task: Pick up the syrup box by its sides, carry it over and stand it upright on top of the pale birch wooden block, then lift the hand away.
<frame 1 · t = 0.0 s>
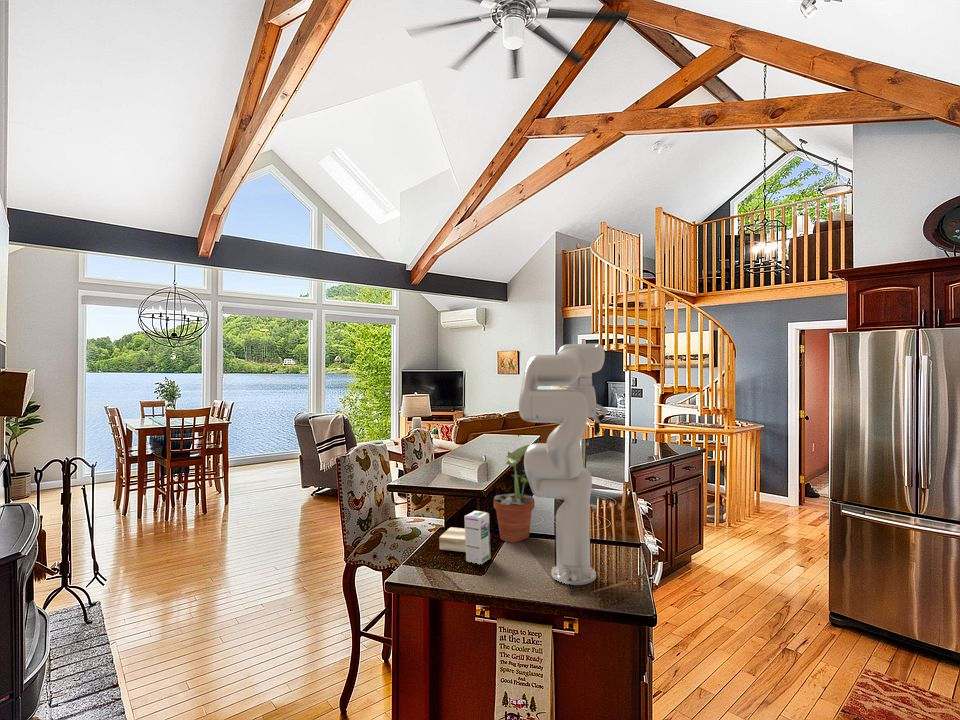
hand: (581, 434, 171), 37 cm above the table, tool pointing down, fingers open, 9 cm apart
syrup box: (478, 560, 162), on the table
potted plant: (514, 536, 182), on the table
birch block: (459, 545, 175), on the table
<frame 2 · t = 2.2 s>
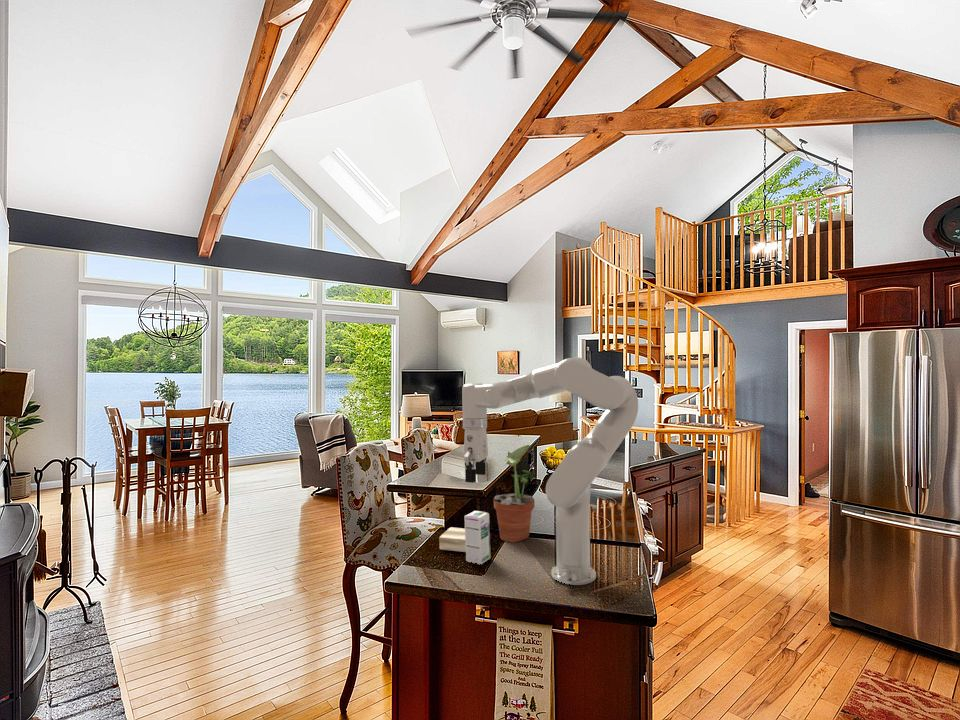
hand: (475, 478, 162), 26 cm above the table, tool pointing down, fingers open, 9 cm apart
nothing on the table moved.
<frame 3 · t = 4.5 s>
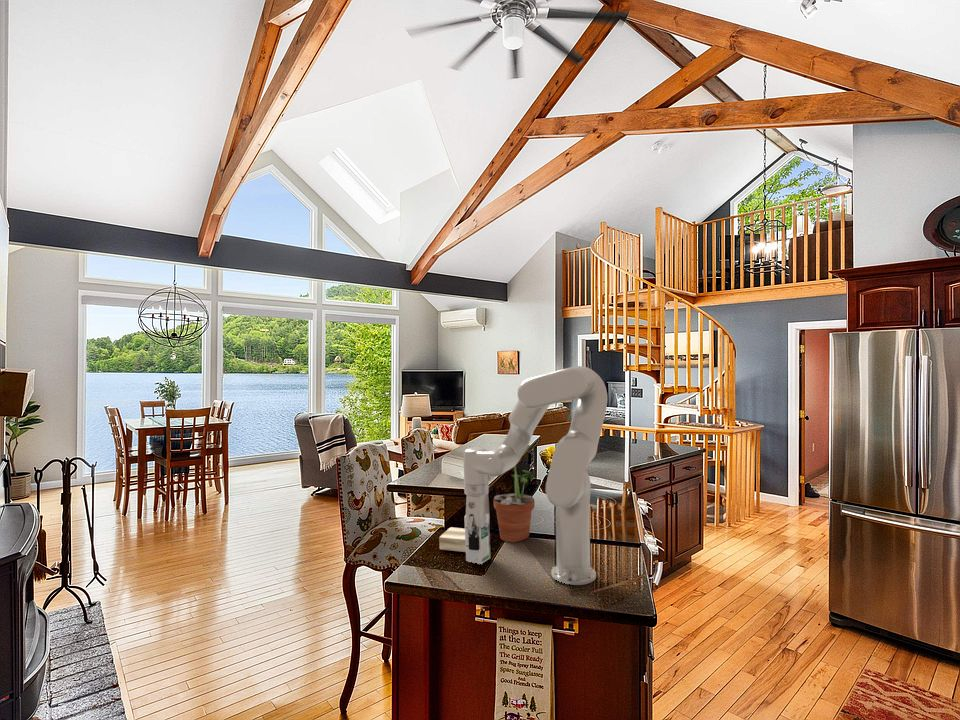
hand: (477, 544, 162), 5 cm above the table, tool pointing down, fingers closed on syrup box, 6 cm apart
syrup box: (478, 560, 162), on the table, touching gripper
everything else where it was.
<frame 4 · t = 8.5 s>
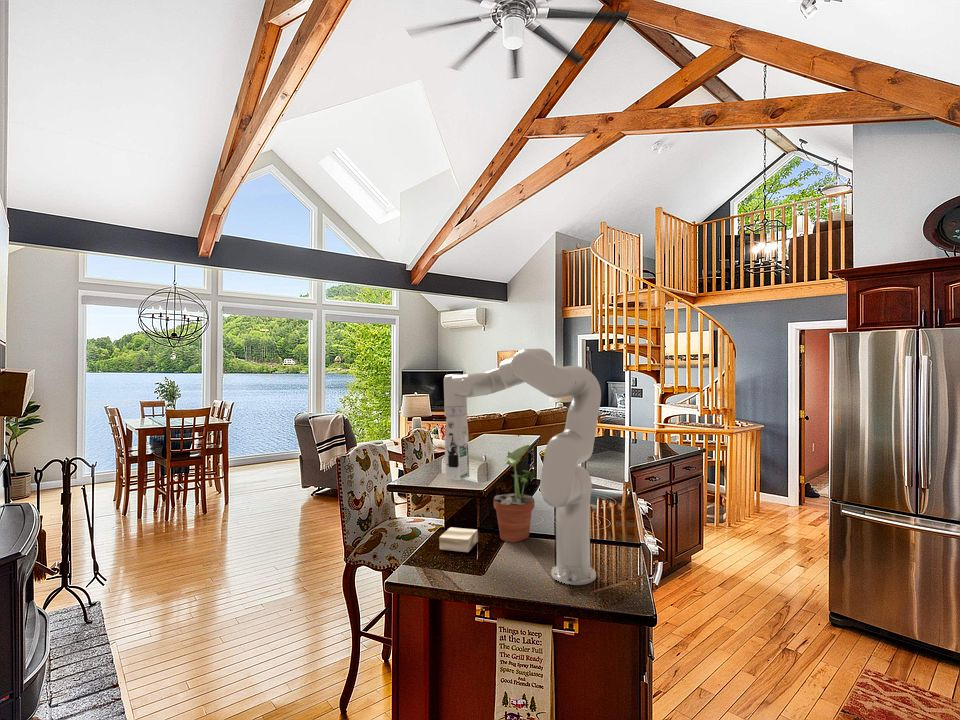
hand: (457, 464, 174), 27 cm above the table, tool pointing down, fingers closed on syrup box, 6 cm apart
syrup box: (457, 478, 174), point 22 cm above the table, touching gripper
everything else where it was.
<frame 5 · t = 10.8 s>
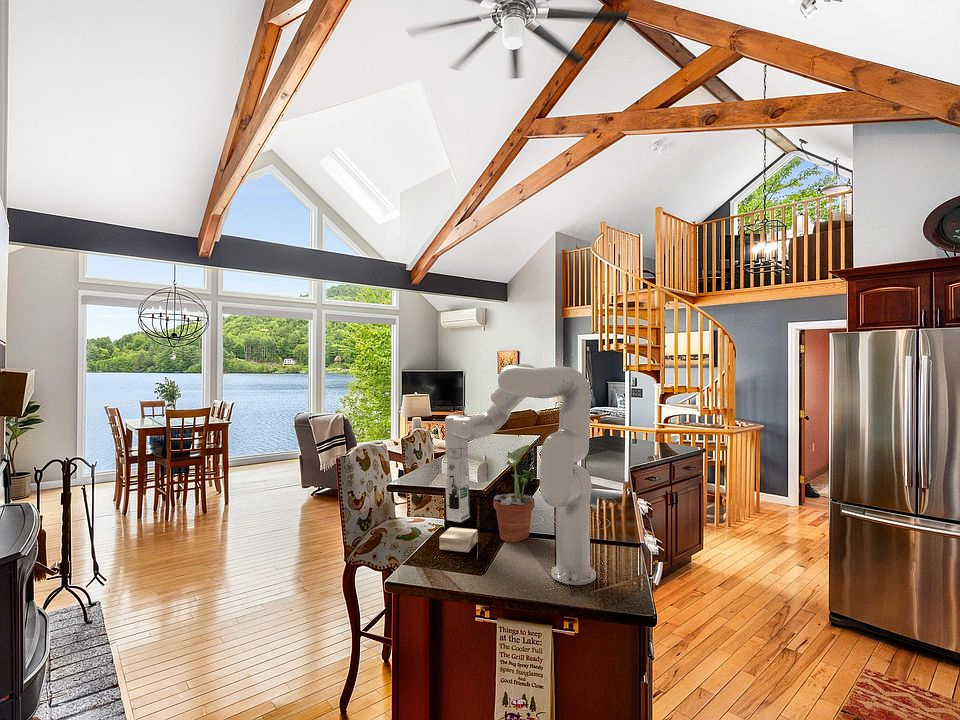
hand: (457, 505, 175), 14 cm above the table, tool pointing down, fingers closed on syrup box, 6 cm apart
syrup box: (458, 519, 175), point 9 cm above the table, touching gripper
everything else where it was.
when the fingers open (10 cm above the table, at t = 12.6 s): syrup box drops 1 cm, resting on birch block.
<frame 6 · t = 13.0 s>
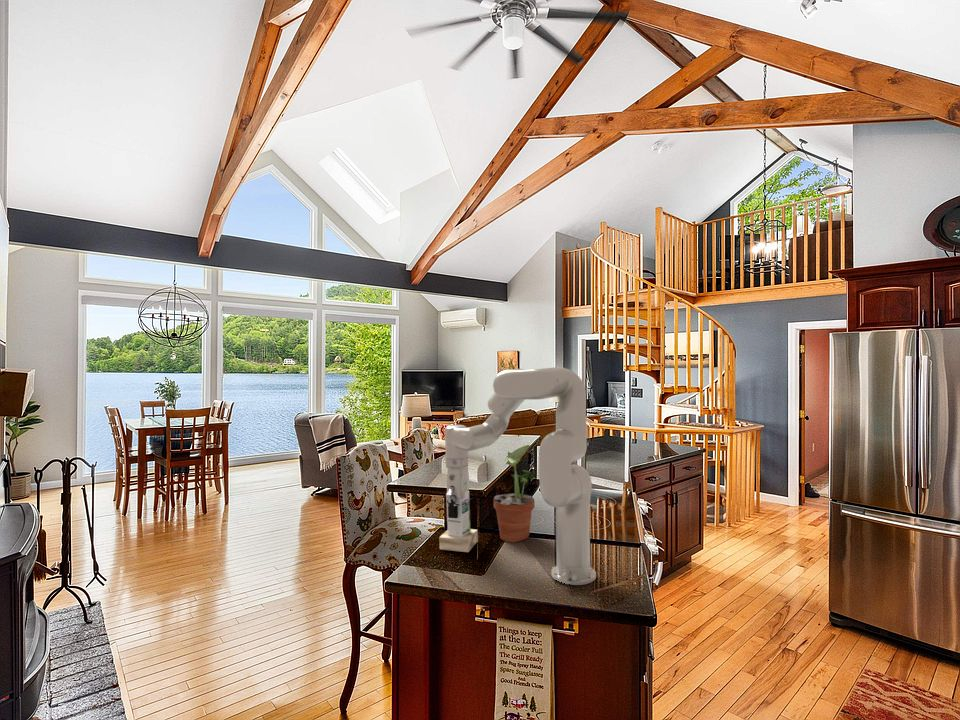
hand: (458, 513, 175), 11 cm above the table, tool pointing down, fingers open, 9 cm apart
syrup box: (459, 534, 174), point 4 cm above the table, touching birch block
everything else where it was.
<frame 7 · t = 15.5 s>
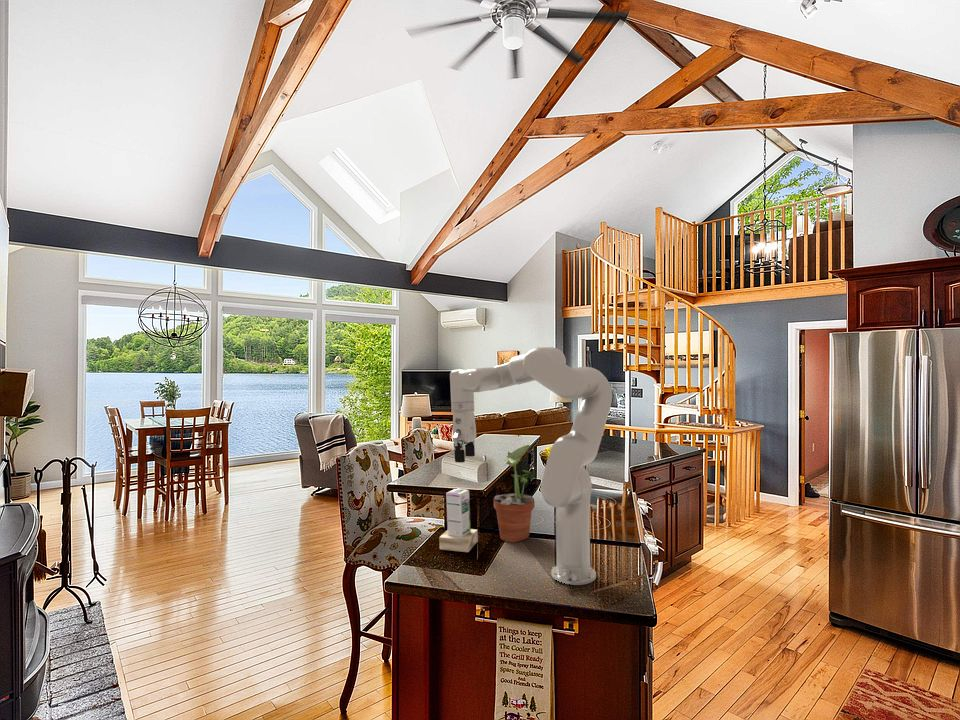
hand: (465, 459, 171), 30 cm above the table, tool pointing down, fingers open, 9 cm apart
nothing on the table moved.
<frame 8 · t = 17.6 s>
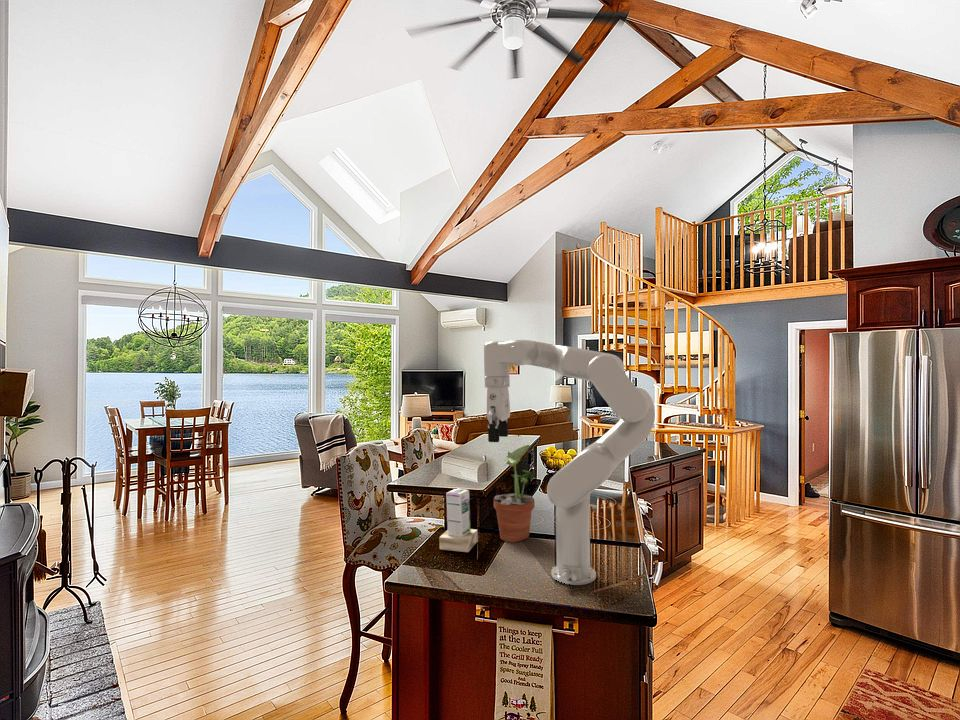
hand: (498, 439, 157), 38 cm above the table, tool pointing down, fingers open, 9 cm apart
nothing on the table moved.
at the end: syrup box 0.4 cm off-centre on the birch block, point 3.8 cm above the birch block's base; syrup box tilted 0°; the gripper is holding nothing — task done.
